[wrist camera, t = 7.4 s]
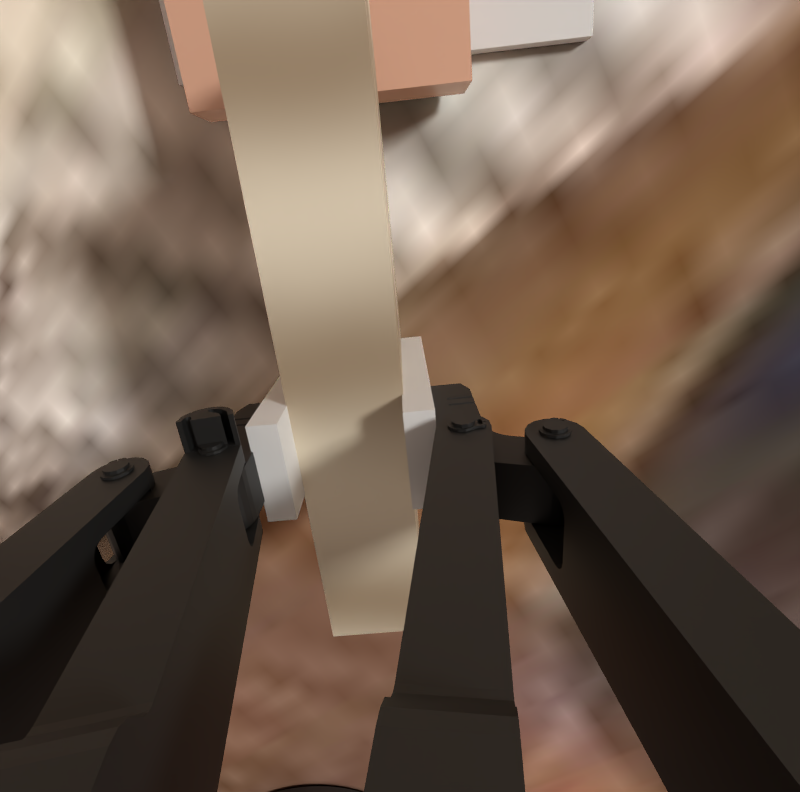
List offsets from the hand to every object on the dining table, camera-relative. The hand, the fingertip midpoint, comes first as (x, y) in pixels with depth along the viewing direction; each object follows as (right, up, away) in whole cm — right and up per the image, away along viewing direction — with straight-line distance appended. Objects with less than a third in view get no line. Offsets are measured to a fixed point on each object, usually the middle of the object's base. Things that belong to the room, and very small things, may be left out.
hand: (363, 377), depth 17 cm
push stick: (0, +2, 0) cm, 2 cm away
